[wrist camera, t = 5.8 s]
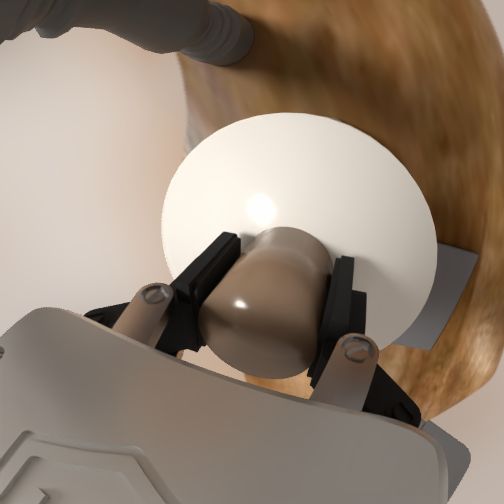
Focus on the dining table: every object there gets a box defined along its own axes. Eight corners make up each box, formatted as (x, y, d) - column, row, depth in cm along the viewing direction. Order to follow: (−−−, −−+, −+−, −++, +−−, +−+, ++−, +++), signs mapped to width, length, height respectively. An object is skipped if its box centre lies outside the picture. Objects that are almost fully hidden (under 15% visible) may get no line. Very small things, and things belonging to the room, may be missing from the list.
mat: (359, 222, 26) (359, 224, 26) (477, 253, 23) (478, 255, 22) (330, 327, 33) (329, 330, 33) (429, 348, 30) (430, 350, 29)
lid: (166, 109, 12) (74, 126, 7) (464, 148, 8) (534, 186, 4) (184, 321, 18) (138, 379, 14) (381, 371, 15) (374, 451, 10)
